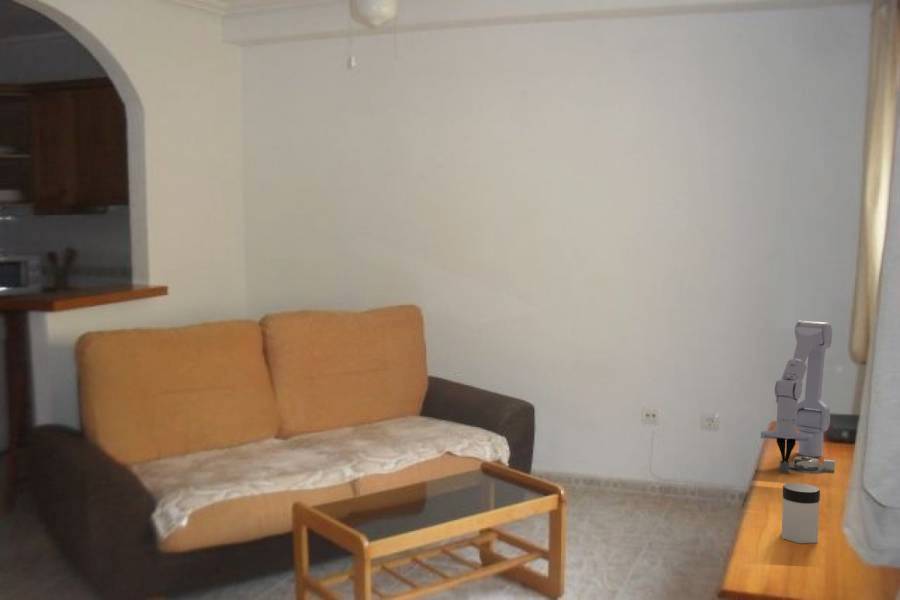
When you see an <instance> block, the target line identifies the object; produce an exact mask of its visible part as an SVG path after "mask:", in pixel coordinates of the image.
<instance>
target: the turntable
mask: <svg viewBox="0 0 900 600" xmlns="http://www.w3.org/2000/svg"><path fill="white" fill-rule="evenodd" d="M835 464H836V461H835V460H833V459H823V465H820V464H819V469H818V470H816V471H805V470H799V469H796V468H794V461H793V462H789V469H788V471H791V472H795V473H802V474H809V475H810V474H816V475H818V474H826V473H828V472H835V471H836V468H835V466H836V465H835Z"/></svg>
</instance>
